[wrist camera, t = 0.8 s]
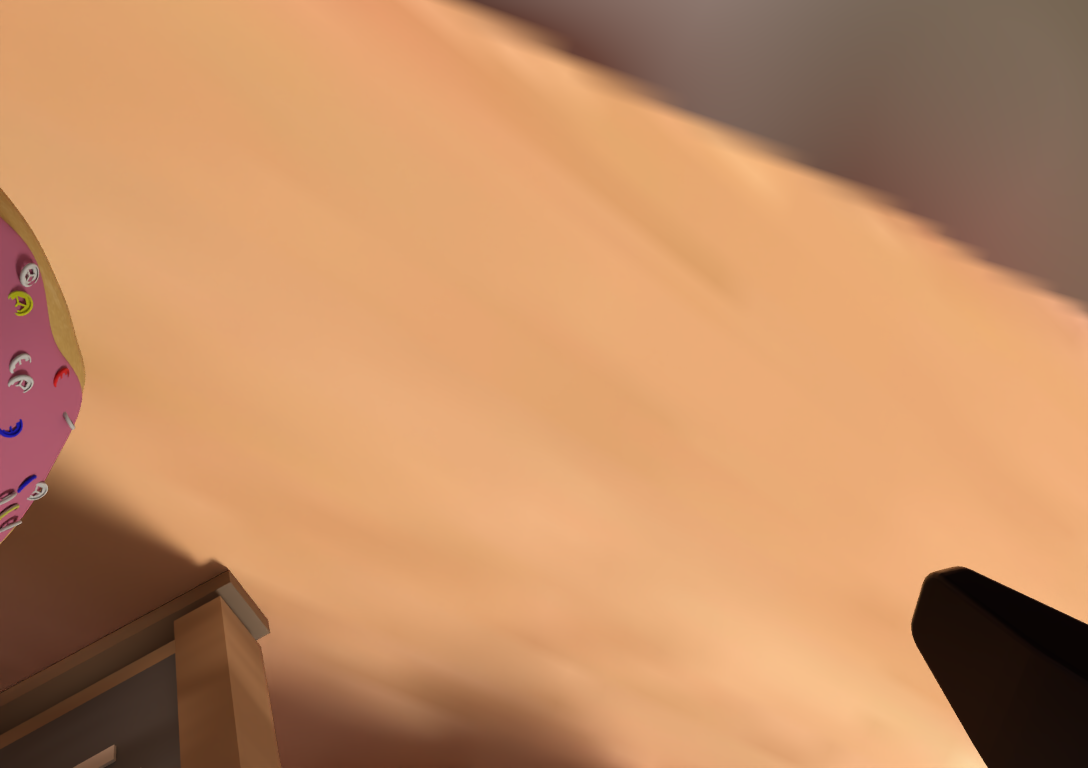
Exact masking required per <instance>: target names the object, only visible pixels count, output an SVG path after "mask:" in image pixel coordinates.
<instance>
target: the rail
mask: <svg viewBox="0 0 1088 768" xmlns="http://www.w3.org/2000/svg"><path fill="white" fill-rule="evenodd" d="M219 596H221V598H222V599H223V600H224V601H225V603H226V604H227V605H228V606H229V608H230V609H231V610H232V611H233V612H234V614H235V615H236V616H237V617H238V619H239V620H240V621H241V622H242V624H243V625H244V626H245V627H246V629H247V630H248V631H249V632H250V634H251V635H252V636H253V637H254V639H255V640H258V639H260V638H262V637H263V636H265V635H267V634H269V633H270V629H269V623H268V620H267V618H266V617H265V616H264V615H263V613H262V612H261V611H260V609H259V608H258V607H257V606H256V604H255V603H254V602H253V600H252V599H251V598H250V597H249V595H248V594H247V593H246V591H245V590H244V589H243V587H242V586H241V585H240V584H239V582H238V581H237V580H236V578H235V577H234V576H233V575H232V573H231V572H230V571H229V570H228V571H226V572H224V573H222V574H220V575H218V576H217V577H215V578H213V579H211V580H209V581H207V582H205V583H204V584H202V585H200V586H198V587H196V588H194V589H193V590H191V591H189V592H187V593H185V594H183V595H181V596H180V597H178V598H176V599H174V600H172V601H170V602H168V603H167V604H165V605H163V606H161V607H159V608H157V609H156V610H154V611H152V612H150V613H148V614H146V615H144V616H143V617H141V618H139V619H137V620H135V621H133V622H131V623H130V624H128V625H126V626H124V627H122V628H120V629H119V630H117V631H115V632H113V633H111V634H109V635H107V636H106V637H104V638H102V639H100V640H98V641H96V642H94V643H93V644H91V645H89V646H87V647H85V648H83V649H82V650H80V651H78V652H76V653H74V654H72V655H70V656H69V657H67V658H65V659H63V660H61V661H59V662H57V663H56V664H54V665H52V666H50V667H48V668H46V669H45V670H43V671H41V672H39V673H37V674H35V675H33V676H32V677H30V678H28V679H26V680H24V681H22V682H20V683H19V684H17V685H15V686H13V687H11V688H9V689H8V690H6V691H4V692H2V693H0V735H2V734H3V733H5V732H7V731H9V730H11V729H13V728H14V727H16V726H18V725H20V724H22V723H23V722H25V721H27V720H29V719H31V718H33V717H34V716H36V715H38V714H40V713H42V712H44V711H45V710H47V709H49V708H51V707H53V706H55V705H56V704H58V703H60V702H62V701H64V700H65V699H67V698H69V697H71V696H73V695H75V694H76V693H78V692H80V691H82V690H84V689H86V688H87V687H89V686H91V685H93V684H95V683H96V682H98V681H100V680H102V679H104V678H106V677H107V676H109V675H111V674H113V673H115V672H117V671H118V670H120V669H122V668H124V667H126V666H127V665H129V664H131V663H133V662H135V661H137V660H138V659H140V658H142V657H144V656H146V655H148V654H149V653H151V652H153V651H155V650H157V649H159V648H160V647H162V646H164V645H166V644H168V643H169V642H171V641H173V640H175V636H174V621H175V620H177V619H178V618H180V617H182V616H184V615H186V614H188V613H189V612H191V611H193V610H195V609H197V608H199V607H200V606H202V605H204V604H206V603H208V602H210V601H211V600H213V599H215V598H217V597H219Z"/></svg>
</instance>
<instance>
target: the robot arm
mask: <svg viewBox="0 0 1088 768" xmlns="http://www.w3.org/2000/svg"><path fill="white" fill-rule="evenodd" d="M911 630H912V635H913V638H914V641H915V643H916V646H917V647H918V649H919V651H920V653H921V654H922V656H923V658H924V660H925V661H926V663H927V665H928V666H929V668H930V670H931V672H932V673H933V675H934V677H935V679H936V680H937V682H938V684H939V686H940V687H941V689H942V691H943V692H944V694H945V696H946V698H947V699H948V701H949V703H950V705H951V706H952V708H953V710H954V712H955V713H956V715H957V717H958V718H959V720H960V722H961V724H962V725H963V727H964V729H965V731H966V732H967V734H968V736H969V738H970V739H971V741H972V743H973V744H974V746H975V748H976V749H977V751H978V753H979V754H980V756H981V757H982V759H983V761H984V762H985V764H986V765H987V767H988V768H1088V624H1086V623H1084V622H1081V621H1079V620H1077V619H1075V618H1073V617H1071V616H1069V615H1067V614H1064V613H1062V612H1060V611H1058V610H1056V609H1054V608H1052V607H1049V606H1047V605H1045V604H1043V603H1041V602H1039V601H1037V600H1035V599H1032V598H1030V597H1028V596H1026V595H1024V594H1022V593H1020V592H1018V591H1015V590H1013V589H1011V588H1009V587H1007V586H1005V585H1003V584H1000V583H998V582H996V581H994V580H992V579H990V578H988V577H986V576H983V575H981V574H979V573H977V572H975V571H973V570H971V569H968V568H965V567H959V566H957V567H951V568H947V569H943V570H939V571H935V572H932V573H930V574H929V575H928V576H927V577H926V578H925V580H924V582H923V585H922V588H921V591H920V595H919V598H918V601H917V605H916V608H915V611H914V614H913V618H912V622H911Z"/></svg>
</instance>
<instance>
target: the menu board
mask: <svg viewBox="0 0 1088 768" xmlns="http://www.w3.org/2000/svg"><path fill="white" fill-rule="evenodd" d="M174 636H175V640H173V641H171V642H169V643H168V644H166V645H164V646H162V647H160V648H159V649H157V650H155V651H153V652H151V653H149V654H148V655H146V656H144V657H142V658H140V659H138V660H137V661H135V662H133V663H131V664H129V665H127V666H126V667H124V668H122V669H120V670H118V671H117V672H115V673H113V674H111V675H109V676H107V677H106V678H104V679H102V680H100V681H98V682H96V683H95V684H93V685H91V686H89V687H87V688H86V689H84V690H82V691H80V692H78V693H76V694H75V695H73V696H71V697H69V698H67V699H65V700H64V701H62V702H60V703H58V704H56V705H55V706H53V707H51V708H49V709H47V710H45V711H44V712H42V713H40V714H38V715H36V716H34V717H33V718H31V719H29V720H27V721H25V722H23V723H22V724H20V725H18V726H16V727H14V728H13V729H11V730H9V731H7V732H5V733H3V734H2V735H0V768H281V764H280V758H279V752H278V746H277V740H276V734H275V728H274V722H273V716H272V710H271V704H270V698H269V692H268V686H267V680H266V674H265V668H264V662H263V656H262V651H261V646H260V645H259V644H258V642H257V641H256V640H255V639H254V637H253V636H252V635H251V634H250V632H249V631H248V630H247V629H246V627H245V626H244V625H243V624H242V622H241V621H240V620H239V619H238V617H237V616H236V615H235V614H234V612H233V611H232V610H231V609H230V608H229V606H228V605H227V604H226V603H225V601H224V600H223V599H222V598H221V596H219V597H217V598H215V599H213V600H211V601H210V602H208V603H206V604H204V605H202V606H200V607H199V608H197V609H195V610H193V611H191V612H189V613H188V614H186V615H184V616H182V617H180V618H178V619H177V620H175V621H174Z"/></svg>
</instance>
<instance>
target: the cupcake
mask: <svg viewBox="0 0 1088 768" xmlns="http://www.w3.org/2000/svg"><path fill="white" fill-rule="evenodd" d="M84 384H85V368H84V363H83V358H82V355H81V352H80V349H79V345H78V342H77V338H76V335H75V331H74V327H73V324H72V320H71V316H70V313H69V310H68V306H67V304H66V301H65V298H64V296H63V293H62V291H61V288H60V286H59V284H58V281H57V279H56V277H55V275H54V272H53V270H52V268H51V266H50V263H49V261H48V259H47V257H46V255H45V253H44V251H43V249H42V247H41V245H40V243H39V241H38V240H37V238H36V236H35V234H34V233H33V231H32V230H31V228H30V226H29V225H28V223H27V222H26V220H25V219H24V217H23V216H22V215H21V213H20V212H19V211H18V209H17V208H16V207H15V205H14V204H13V203H12V201H11V200H10V199H9V198H8V196H7V195H6V194H5V193H4V192H3V190H2V189H1V188H0V544H1V543H2V542H3V541H4V540H5V539H6V537H7V536H8V535H9V534H10V533H11V532H12V531H13V529H14V528H15V527H16V526H17V525H19V524H21V523H22V521H21V520H20V519H21V518H22V517H23V515H24V514H25V513H26V511H27V510H28V509H29V507H30V505H31V504H32V502H33V501H34V500H37V499H40V498H42V497H43V496H44V495H45V494H46V493H47V491H48V486H47V484H46V483H44V481H45V479H46V477H47V475H48V474H49V472H50V470H51V468H52V466H53V464H54V462H55V460H56V459H57V457H58V455H59V453H60V451H61V449H62V448H63V446H64V444H65V442H66V440H67V438H68V436H69V435H70V433H71V430H73V429H75V426H74V424H75V422H76V419H77V417H78V414H79V410H80V407H81V402H82V393H83V389H84ZM41 487H42V490H41V492H39V491H40V489H41Z"/></svg>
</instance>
